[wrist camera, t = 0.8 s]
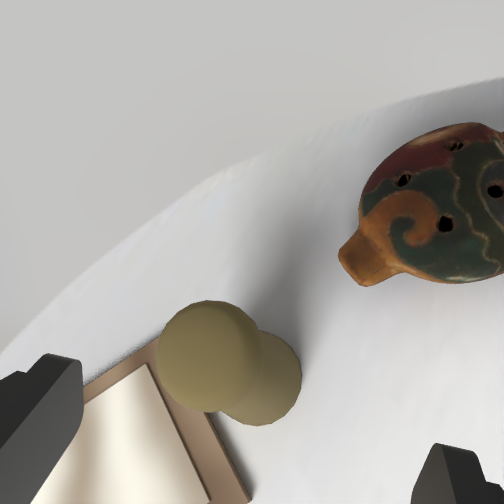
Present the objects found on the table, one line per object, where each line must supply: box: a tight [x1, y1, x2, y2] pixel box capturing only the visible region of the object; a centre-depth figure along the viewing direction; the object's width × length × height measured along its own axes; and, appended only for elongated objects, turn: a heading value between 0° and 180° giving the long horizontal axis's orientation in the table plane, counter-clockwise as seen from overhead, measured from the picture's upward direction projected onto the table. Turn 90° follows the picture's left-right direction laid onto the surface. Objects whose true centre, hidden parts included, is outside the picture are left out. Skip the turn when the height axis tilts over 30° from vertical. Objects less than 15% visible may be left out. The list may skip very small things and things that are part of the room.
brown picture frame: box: [31, 337, 252, 504], centre depth 29 cm, size 18×12×1 cm, turn 121°
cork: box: [156, 300, 302, 426], centre depth 25 cm, size 6×6×11 cm
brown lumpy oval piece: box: [338, 122, 504, 287], centre depth 27 cm, size 10×15×8 cm, turn 122°
